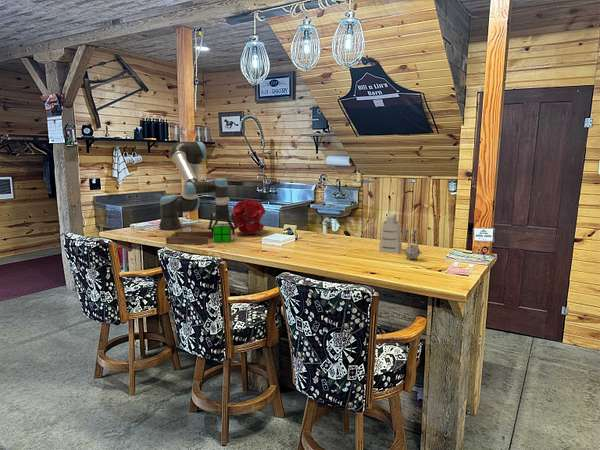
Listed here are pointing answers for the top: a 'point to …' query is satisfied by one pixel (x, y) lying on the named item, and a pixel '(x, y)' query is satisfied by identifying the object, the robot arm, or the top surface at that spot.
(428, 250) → the top surface
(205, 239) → the brown wooden slab
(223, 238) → the puzzle cube
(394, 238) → the grater
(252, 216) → the bouquet
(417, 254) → the game die
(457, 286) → the top surface
